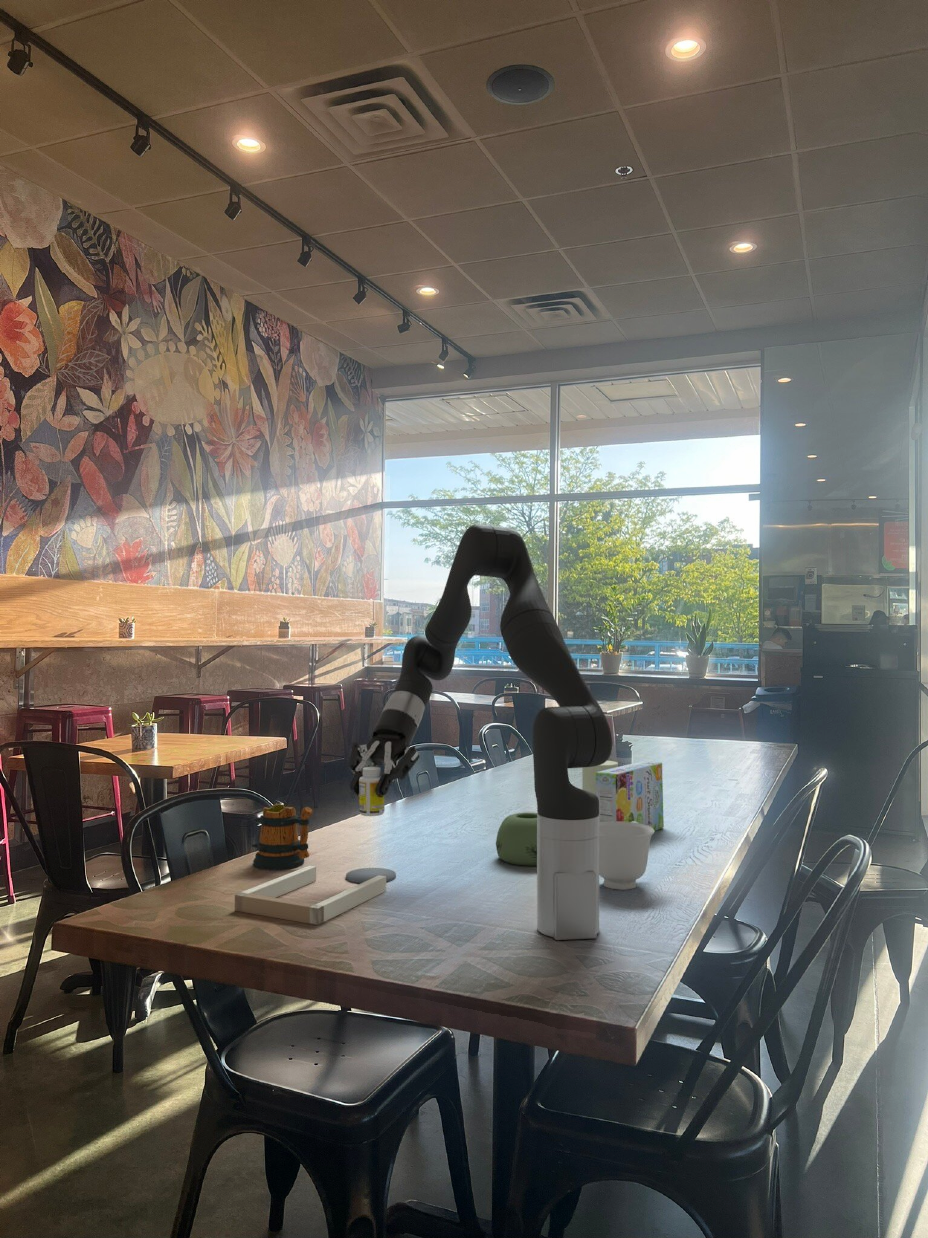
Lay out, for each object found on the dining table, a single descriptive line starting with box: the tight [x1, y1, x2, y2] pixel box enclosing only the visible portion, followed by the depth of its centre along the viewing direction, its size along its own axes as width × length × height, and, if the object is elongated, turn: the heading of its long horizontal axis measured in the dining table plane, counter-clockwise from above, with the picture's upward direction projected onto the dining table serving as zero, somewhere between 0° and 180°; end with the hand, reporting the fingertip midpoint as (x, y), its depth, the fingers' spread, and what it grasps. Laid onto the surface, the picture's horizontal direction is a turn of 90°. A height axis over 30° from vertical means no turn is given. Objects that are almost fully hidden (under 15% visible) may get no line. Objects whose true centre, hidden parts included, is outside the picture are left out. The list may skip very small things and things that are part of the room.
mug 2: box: [495, 811, 537, 867], centre depth 176 cm, size 16×13×9 cm
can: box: [581, 760, 619, 795], centre depth 227 cm, size 9×9×12 cm
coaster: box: [345, 867, 397, 884], centre depth 162 cm, size 9×9×1 cm
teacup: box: [599, 821, 656, 891], centre depth 158 cm, size 12×15×10 cm
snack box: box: [596, 760, 665, 832], centre depth 197 cm, size 21×6×15 cm, turn 141°
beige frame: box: [234, 865, 387, 926], centre depth 148 cm, size 20×16×2 cm
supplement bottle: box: [358, 766, 385, 817], centre depth 162 cm, size 5×5×8 cm
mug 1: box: [251, 803, 313, 871], centre depth 171 cm, size 13×10×12 cm
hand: (366, 793), depth 161 cm, fingers closed on supplement bottle, 4 cm apart
